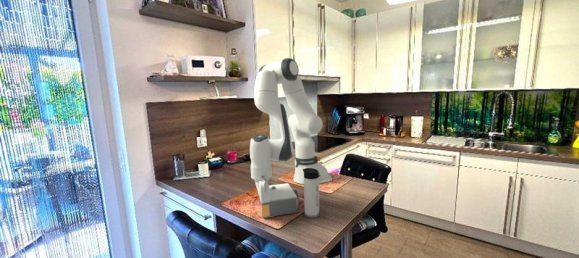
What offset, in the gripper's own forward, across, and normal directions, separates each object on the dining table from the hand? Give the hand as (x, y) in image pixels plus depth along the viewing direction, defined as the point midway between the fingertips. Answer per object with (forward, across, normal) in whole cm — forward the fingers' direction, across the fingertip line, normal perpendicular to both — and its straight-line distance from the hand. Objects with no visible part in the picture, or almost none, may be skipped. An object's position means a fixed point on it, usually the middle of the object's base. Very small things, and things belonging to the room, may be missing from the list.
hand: (262, 203), depth 108 cm
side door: (+3, -6, -7) cm, 9 cm away
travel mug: (+4, -8, -20) cm, 22 cm away
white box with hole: (+4, +3, -8) cm, 10 cm away
